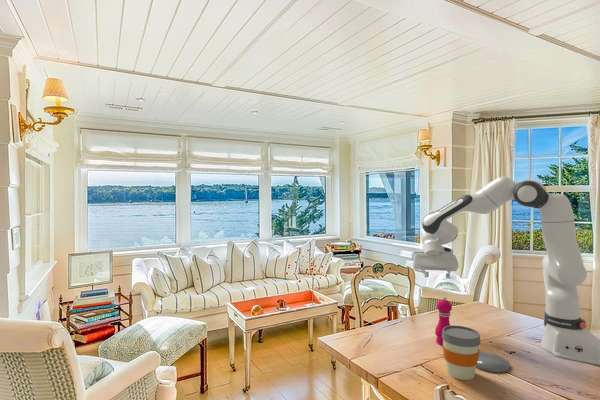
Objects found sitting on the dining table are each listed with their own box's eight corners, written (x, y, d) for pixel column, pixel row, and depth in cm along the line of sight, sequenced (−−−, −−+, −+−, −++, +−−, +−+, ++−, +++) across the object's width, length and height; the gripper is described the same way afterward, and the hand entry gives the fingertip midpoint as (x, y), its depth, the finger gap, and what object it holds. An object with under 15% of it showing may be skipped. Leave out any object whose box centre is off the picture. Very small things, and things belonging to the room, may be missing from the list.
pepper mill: (454, 347, 147) (455, 299, 147) (436, 345, 149) (436, 298, 148) (451, 340, 154) (451, 294, 154) (433, 338, 156) (433, 293, 155)
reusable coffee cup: (435, 373, 126) (435, 331, 126) (450, 361, 135) (450, 322, 135) (472, 387, 117) (472, 342, 117) (485, 373, 126) (485, 331, 126)
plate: (513, 362, 134) (513, 359, 134) (504, 377, 124) (504, 373, 124) (473, 351, 143) (473, 348, 143) (462, 364, 133) (462, 360, 133)
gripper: (411, 247, 172) (415, 272, 162) (456, 249, 169) (462, 274, 159) (410, 255, 176) (413, 279, 167) (453, 256, 173) (458, 281, 164)
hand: (437, 277), depth 163 cm, fingers open, 8 cm apart
